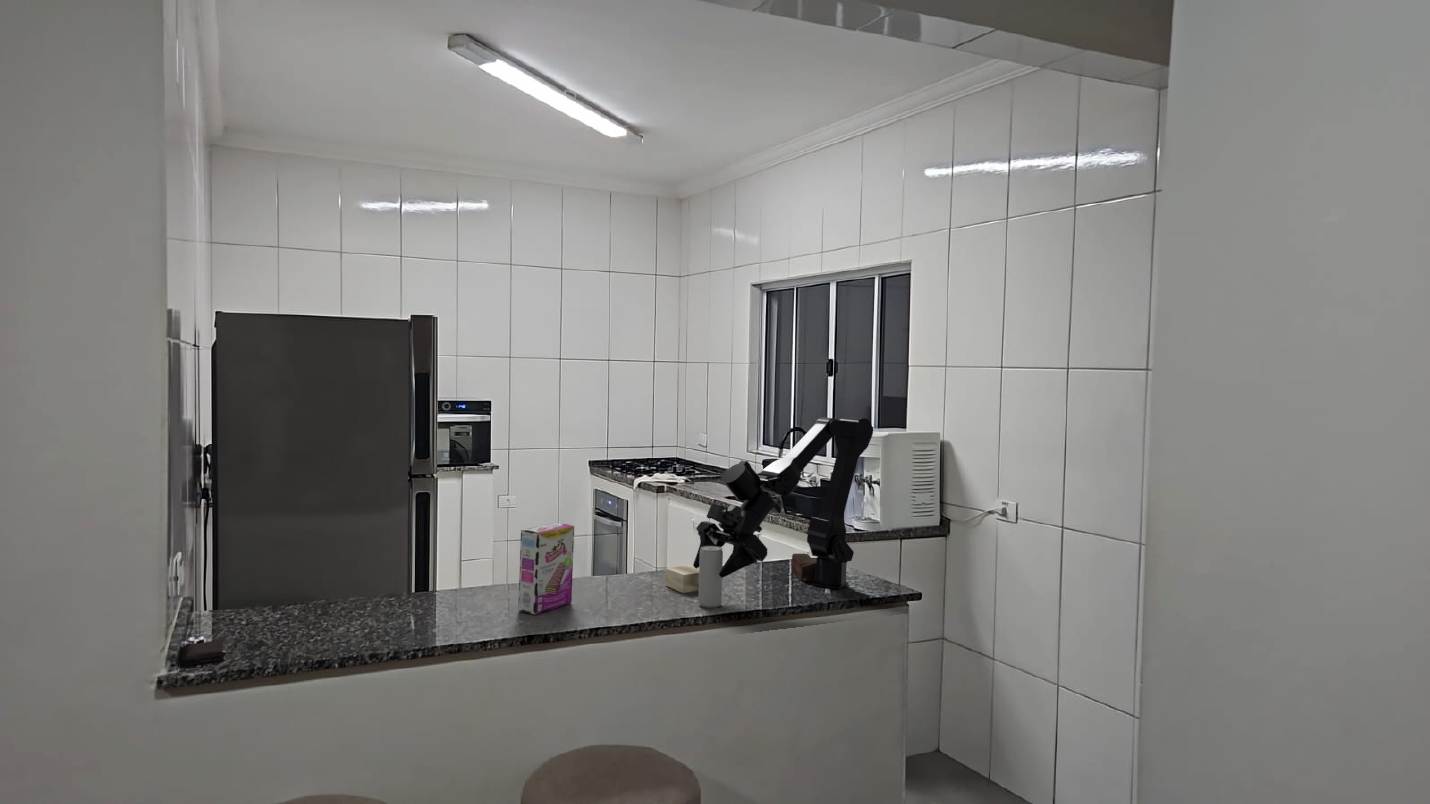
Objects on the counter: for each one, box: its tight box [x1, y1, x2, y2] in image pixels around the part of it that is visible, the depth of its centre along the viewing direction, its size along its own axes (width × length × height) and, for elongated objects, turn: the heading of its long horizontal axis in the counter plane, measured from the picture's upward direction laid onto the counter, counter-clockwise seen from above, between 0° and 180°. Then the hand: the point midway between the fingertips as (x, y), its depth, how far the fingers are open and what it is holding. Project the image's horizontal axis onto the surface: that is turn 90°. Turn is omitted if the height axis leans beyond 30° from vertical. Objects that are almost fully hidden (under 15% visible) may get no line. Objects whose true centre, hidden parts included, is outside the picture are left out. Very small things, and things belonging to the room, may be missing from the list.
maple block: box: [665, 564, 699, 594], centre depth 197 cm, size 7×7×4 cm
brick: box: [791, 553, 816, 583], centre depth 211 cm, size 11×4×5 cm, turn 8°
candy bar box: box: [517, 522, 575, 616], centre depth 178 cm, size 11×5×16 cm, turn 149°
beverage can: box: [698, 546, 724, 609], centre depth 183 cm, size 5×5×12 cm
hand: (707, 571), depth 183 cm, fingers open, 9 cm apart
